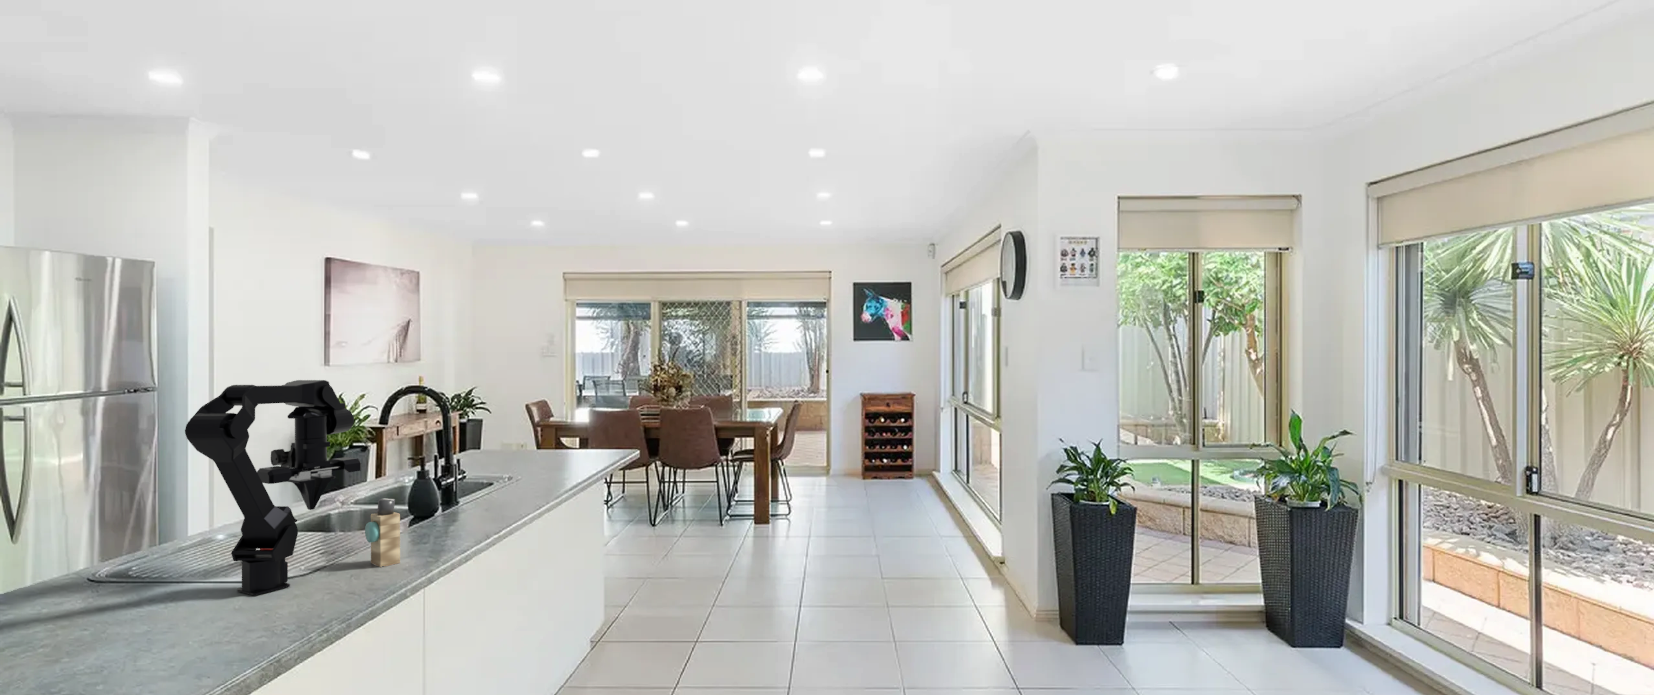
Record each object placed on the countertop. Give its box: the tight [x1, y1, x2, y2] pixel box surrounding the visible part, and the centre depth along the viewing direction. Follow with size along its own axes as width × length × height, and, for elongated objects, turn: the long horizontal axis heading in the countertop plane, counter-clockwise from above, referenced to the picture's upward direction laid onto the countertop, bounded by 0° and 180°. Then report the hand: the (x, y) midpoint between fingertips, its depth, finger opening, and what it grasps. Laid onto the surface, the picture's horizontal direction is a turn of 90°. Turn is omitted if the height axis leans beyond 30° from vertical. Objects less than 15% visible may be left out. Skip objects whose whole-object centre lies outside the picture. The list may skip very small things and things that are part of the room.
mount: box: [370, 511, 401, 568], centre depth 166 cm, size 4×5×11 cm
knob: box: [364, 521, 379, 544], centre depth 166 cm, size 6×4×4 cm
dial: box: [376, 497, 396, 515], centre depth 166 cm, size 3×3×3 cm
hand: (311, 509), depth 161 cm, fingers closed
